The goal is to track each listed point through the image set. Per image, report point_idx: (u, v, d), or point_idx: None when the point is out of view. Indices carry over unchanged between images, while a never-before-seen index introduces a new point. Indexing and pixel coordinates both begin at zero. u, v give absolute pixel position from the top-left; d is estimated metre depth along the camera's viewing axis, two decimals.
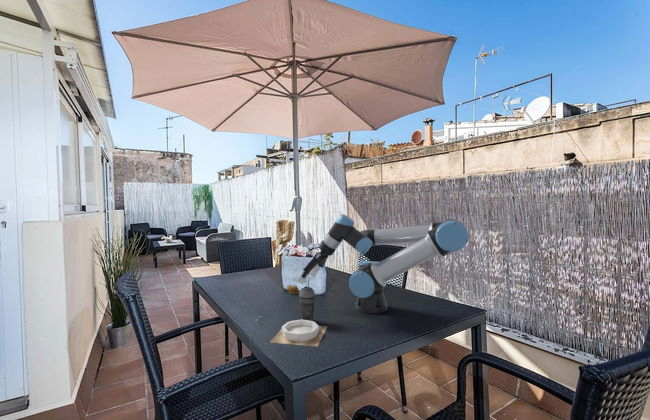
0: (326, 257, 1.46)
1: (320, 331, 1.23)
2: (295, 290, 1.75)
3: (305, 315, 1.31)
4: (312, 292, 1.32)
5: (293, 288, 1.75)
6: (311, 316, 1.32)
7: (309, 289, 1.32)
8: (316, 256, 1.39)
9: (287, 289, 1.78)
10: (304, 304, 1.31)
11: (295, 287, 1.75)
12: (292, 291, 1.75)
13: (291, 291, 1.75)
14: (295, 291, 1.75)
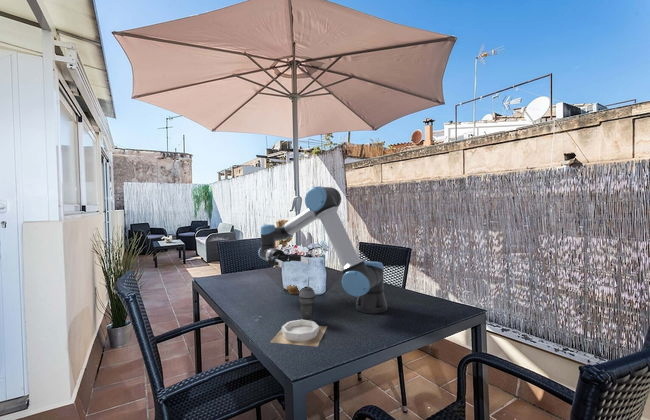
0: (283, 253, 1.54)
1: (320, 331, 1.23)
2: (294, 290, 1.75)
3: (305, 315, 1.31)
4: (312, 292, 1.32)
5: (293, 288, 1.75)
6: (311, 316, 1.32)
7: (309, 289, 1.32)
8: None
9: (287, 289, 1.78)
10: (304, 304, 1.31)
11: (295, 287, 1.75)
12: (292, 291, 1.75)
13: (291, 291, 1.75)
14: (295, 291, 1.75)
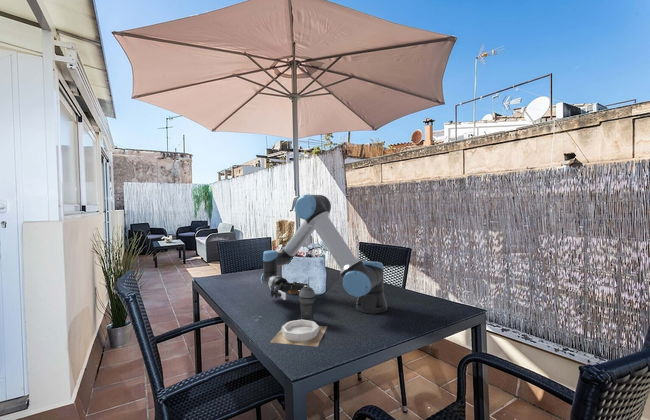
0: (286, 282, 1.52)
1: (320, 331, 1.23)
2: (294, 290, 1.75)
3: (305, 315, 1.31)
4: (312, 292, 1.32)
5: None
6: (311, 316, 1.32)
7: (309, 289, 1.32)
8: (270, 289, 1.48)
9: None
10: (304, 304, 1.31)
11: None
12: (292, 291, 1.75)
13: (291, 291, 1.75)
14: (294, 291, 1.75)
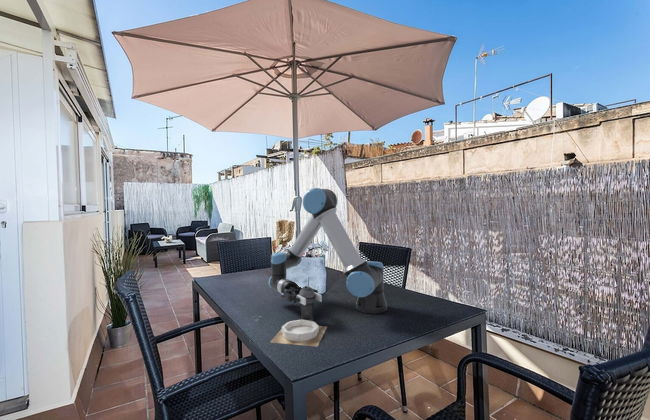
0: (296, 286, 1.44)
1: (320, 331, 1.23)
2: None
3: (305, 315, 1.31)
4: (312, 292, 1.32)
5: None
6: (311, 316, 1.32)
7: (309, 289, 1.32)
8: (282, 294, 1.39)
9: None
10: None
11: None
12: None
13: None
14: None
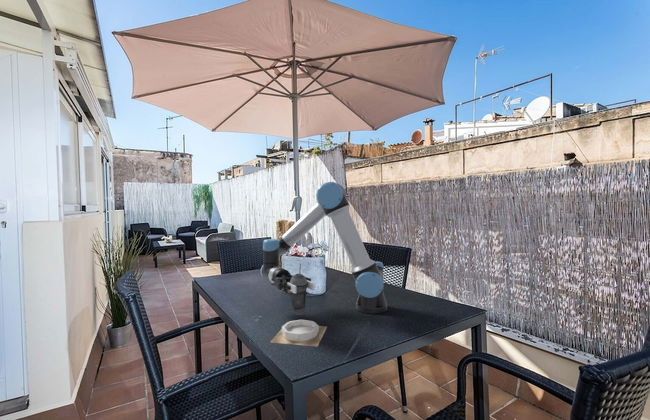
0: (288, 274, 1.33)
1: (320, 331, 1.23)
2: None
3: (296, 304, 1.21)
4: (304, 280, 1.21)
5: None
6: (303, 306, 1.21)
7: (300, 276, 1.21)
8: (272, 283, 1.28)
9: None
10: (295, 293, 1.20)
11: None
12: None
13: (290, 291, 1.75)
14: None
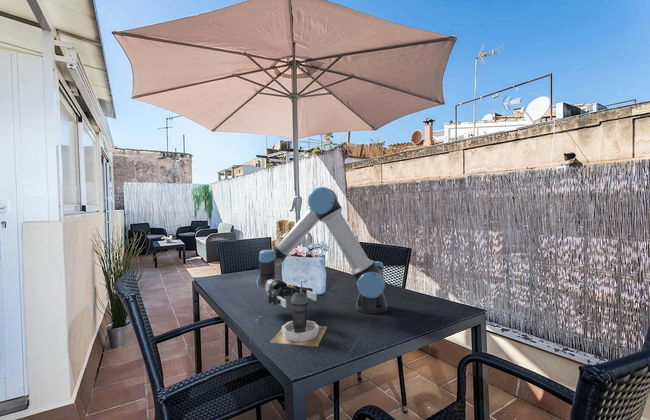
0: (286, 286, 1.32)
1: (320, 331, 1.23)
2: None
3: (297, 323, 1.18)
4: (305, 298, 1.19)
5: None
6: (304, 325, 1.19)
7: (302, 295, 1.19)
8: (268, 295, 1.28)
9: None
10: (296, 311, 1.18)
11: None
12: None
13: None
14: None
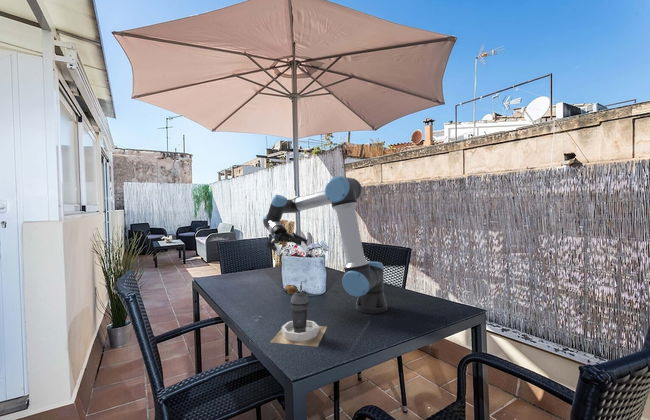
0: (285, 233, 1.52)
1: (320, 331, 1.23)
2: (293, 290, 1.75)
3: (297, 323, 1.18)
4: (305, 298, 1.19)
5: (291, 288, 1.75)
6: (304, 324, 1.19)
7: (302, 294, 1.19)
8: (268, 238, 1.49)
9: (286, 289, 1.78)
10: (296, 311, 1.18)
11: (293, 287, 1.75)
12: (290, 291, 1.75)
13: (289, 291, 1.75)
14: (293, 291, 1.75)
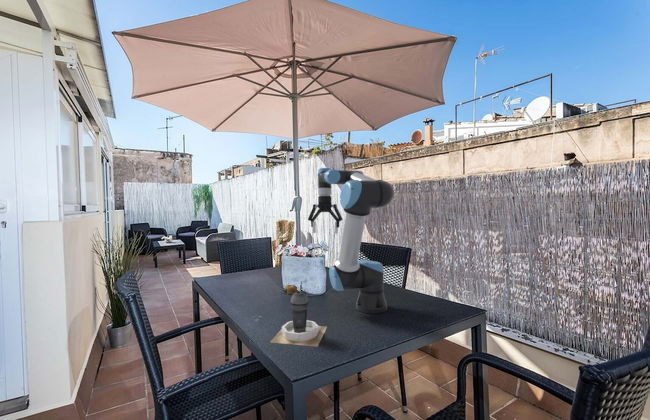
0: (325, 207, 1.72)
1: (320, 331, 1.23)
2: (293, 290, 1.75)
3: (297, 323, 1.18)
4: (305, 298, 1.19)
5: (291, 288, 1.75)
6: (304, 324, 1.19)
7: (301, 295, 1.19)
8: None
9: (285, 289, 1.78)
10: (296, 311, 1.18)
11: (293, 287, 1.75)
12: (290, 291, 1.75)
13: (289, 291, 1.75)
14: (293, 291, 1.75)
